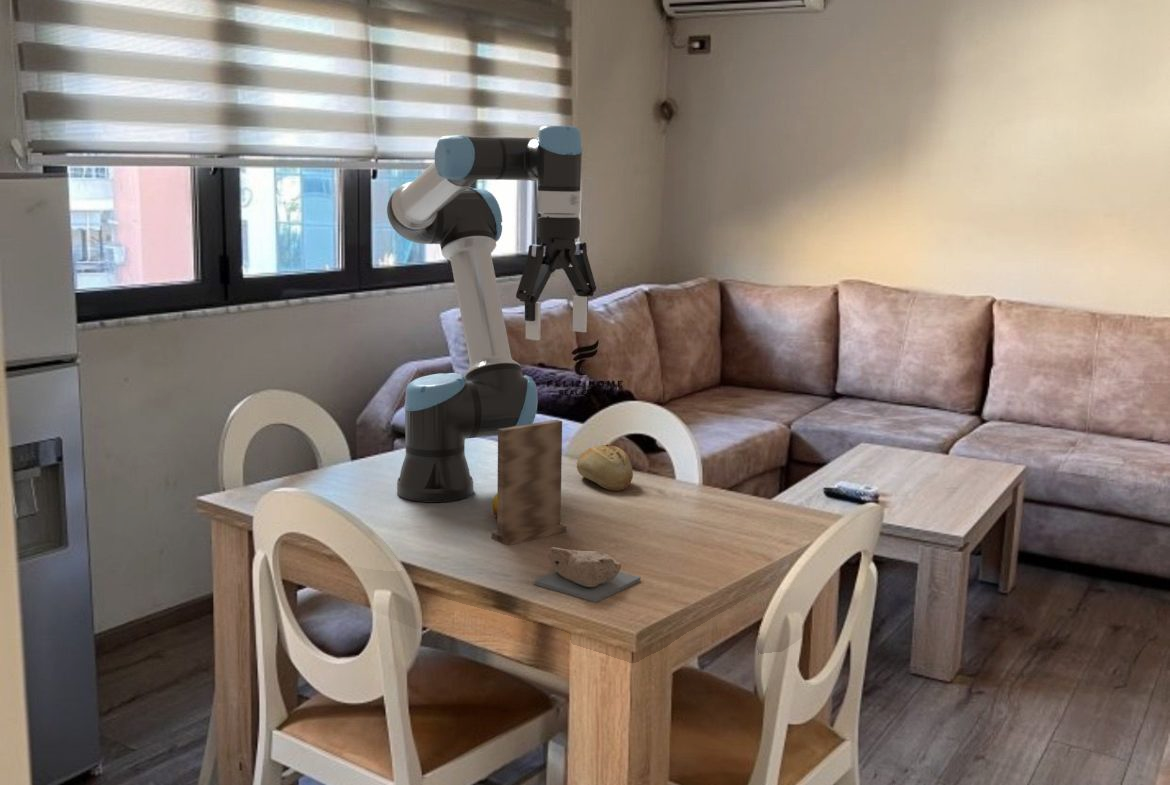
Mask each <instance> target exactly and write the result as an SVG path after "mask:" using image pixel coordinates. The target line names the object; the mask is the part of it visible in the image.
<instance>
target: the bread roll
mask: <svg viewBox="0 0 1170 785" xmlns="http://www.w3.org/2000/svg"><path fill="white" fill-rule="evenodd" d="M576 470H577V472H578V474H579V475H580V476H582V477H583V478H586V479H587V480H589V481H591V482H593V483H595V484H597V485H598V486H600V487H602V488H603V489H606V490H609V491H613V492H621V491H624V490H626V489H627V488H628V487H629V486H630V485H631V483H632V480H633V476H634V474H633V473H634V472H633V465H632V462H631V460H630V457H629V455H628V454H627V453H626V451H624V450H623V449H622V448H620V447H618V446H615V445H611V444H603V445H597V446H593V447H590V448H587V449H585V451H583V452H582V453H580V455H579V458H578V459H577V462H576Z"/></svg>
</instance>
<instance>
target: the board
mask: <svg viewBox="0 0 1170 785" xmlns="http://www.w3.org/2000/svg"><path fill="white" fill-rule="evenodd" d="M562 451H563V421H562V420H559V419H553V420H552V419H551V420H546V421H541V422H533V424H526V425H520V426H514V427H508V428H501V429H498V436H497V493H498V494H497V493H496V494H497V522H496V524H497V526H496V530H495V531H493V532H491V539H493V540H496V541H498V542H500V543H502V544H505V545H506V546H511V545H515V544H520V543H524V542H529V541H532V540H536V539H541V538H545V537H548V536H553V535H557V534H560V533H566V532H567V525H565V524H562V523H561V518H562V516H561V514H562V510H561V509H562V464H563V463H562V461H563V460H562V456H563V455H562Z"/></svg>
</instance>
